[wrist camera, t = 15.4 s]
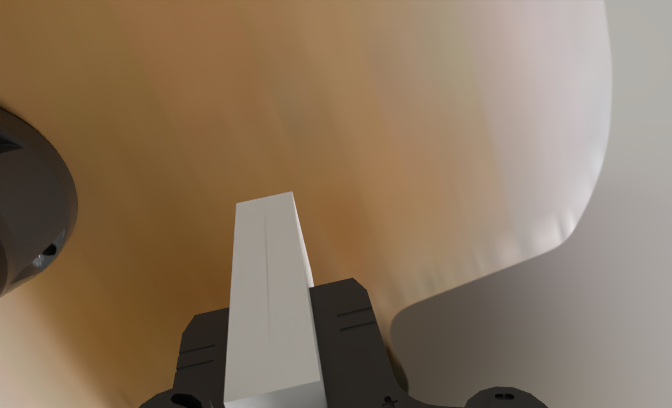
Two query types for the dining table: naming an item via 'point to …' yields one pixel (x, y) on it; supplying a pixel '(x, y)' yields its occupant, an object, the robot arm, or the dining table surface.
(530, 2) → the dining table surface
